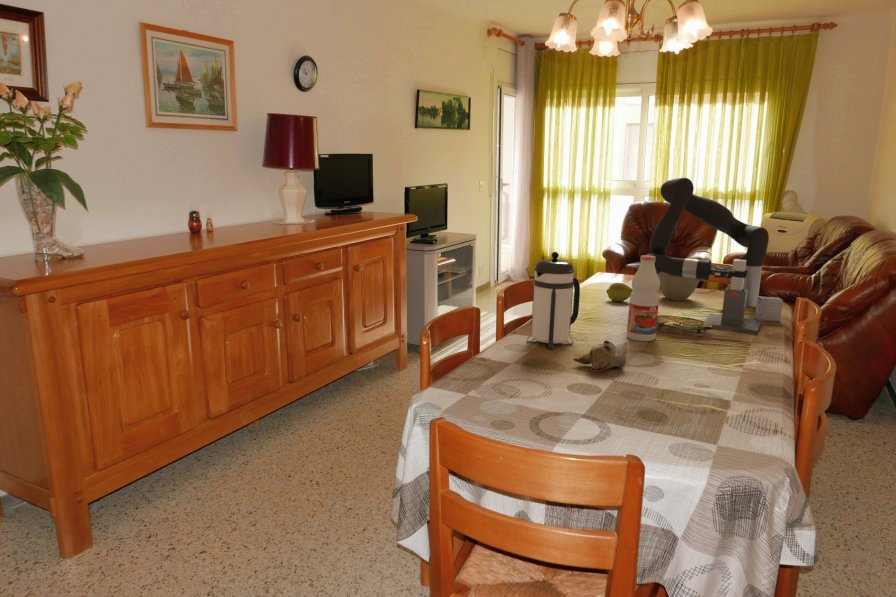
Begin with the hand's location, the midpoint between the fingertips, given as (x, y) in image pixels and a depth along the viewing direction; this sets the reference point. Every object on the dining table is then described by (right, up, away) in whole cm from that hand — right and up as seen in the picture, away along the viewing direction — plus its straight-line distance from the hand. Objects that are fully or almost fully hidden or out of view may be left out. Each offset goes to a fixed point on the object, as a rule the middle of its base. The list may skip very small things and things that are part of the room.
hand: (746, 274), depth 234 cm
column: (-3, -16, +5) cm, 17 cm away
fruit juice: (-42, -22, -14) cm, 50 cm away
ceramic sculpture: (-63, -29, -46) cm, 83 cm away
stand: (-3, -19, +6) cm, 20 cm away
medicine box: (+15, -17, +15) cm, 27 cm away
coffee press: (-74, -23, -22) cm, 80 cm away
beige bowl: (-8, -9, +49) cm, 50 cm away
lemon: (-35, -10, +41) cm, 55 cm away
